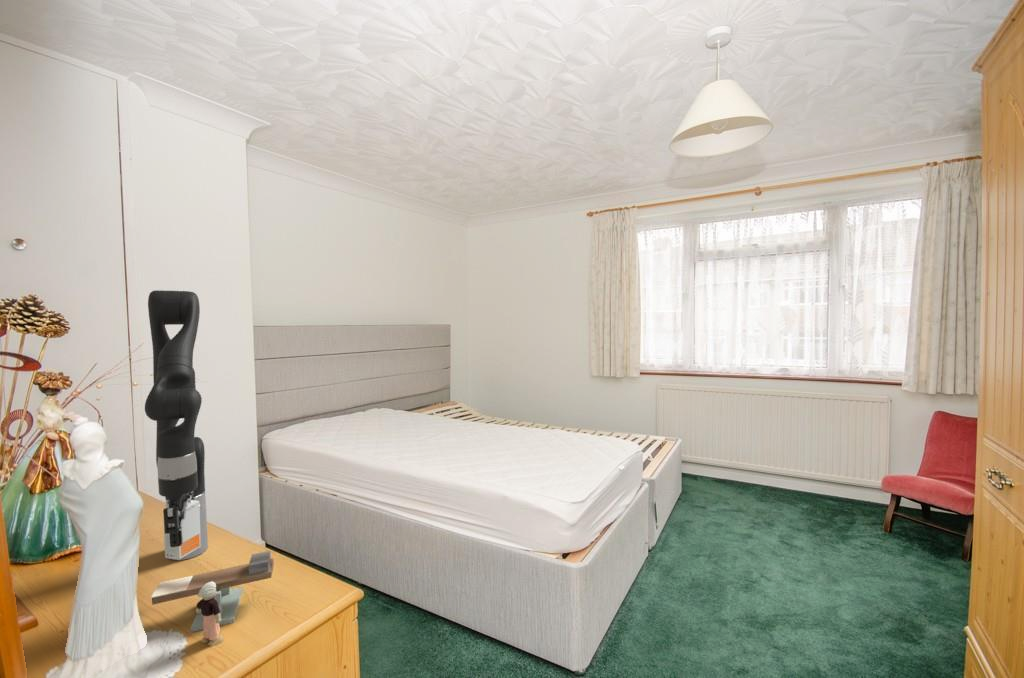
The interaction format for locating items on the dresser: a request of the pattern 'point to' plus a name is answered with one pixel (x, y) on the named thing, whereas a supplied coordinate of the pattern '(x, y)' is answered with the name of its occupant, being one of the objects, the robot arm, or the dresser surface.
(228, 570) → the beam
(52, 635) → the dresser surface
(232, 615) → the beam stand
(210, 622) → the grandmother figurine
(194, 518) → the skincare box
